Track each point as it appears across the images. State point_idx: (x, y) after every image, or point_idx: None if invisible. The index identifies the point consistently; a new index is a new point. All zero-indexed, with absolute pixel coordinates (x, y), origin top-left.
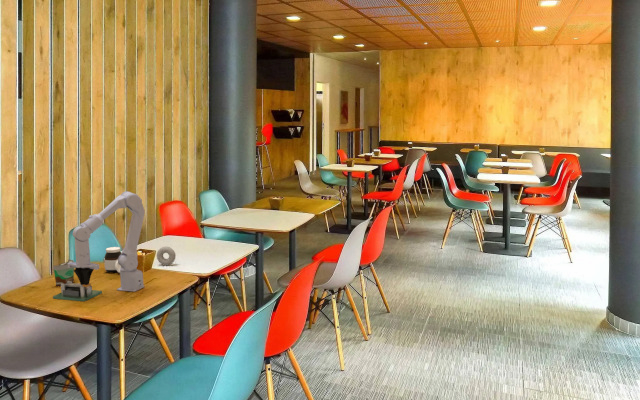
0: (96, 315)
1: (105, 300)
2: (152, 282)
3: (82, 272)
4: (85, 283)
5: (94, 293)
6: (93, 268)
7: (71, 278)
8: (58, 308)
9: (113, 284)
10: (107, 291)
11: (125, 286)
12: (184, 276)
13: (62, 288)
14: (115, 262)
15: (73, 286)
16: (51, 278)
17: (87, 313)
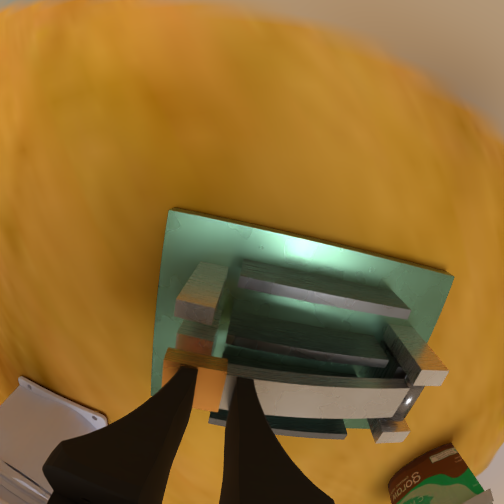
0: (30, 5)
1: (53, 241)
2: None
3: (140, 468)
4: (181, 373)
5: (166, 350)
6: (3, 479)
7: (398, 494)
8: (306, 38)
9: (186, 482)
10: None
11: (51, 412)
12: None
13: (422, 349)
14: None
15: (336, 376)
16: None
17: (71, 4)
